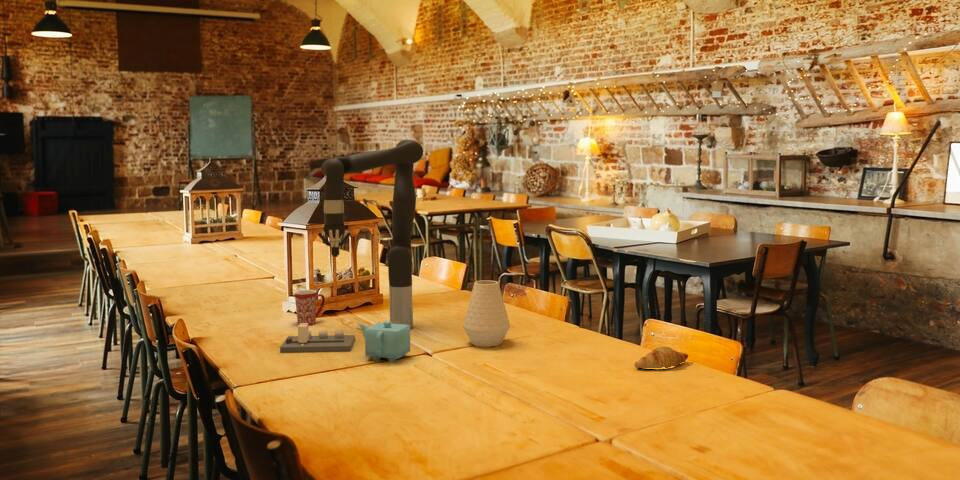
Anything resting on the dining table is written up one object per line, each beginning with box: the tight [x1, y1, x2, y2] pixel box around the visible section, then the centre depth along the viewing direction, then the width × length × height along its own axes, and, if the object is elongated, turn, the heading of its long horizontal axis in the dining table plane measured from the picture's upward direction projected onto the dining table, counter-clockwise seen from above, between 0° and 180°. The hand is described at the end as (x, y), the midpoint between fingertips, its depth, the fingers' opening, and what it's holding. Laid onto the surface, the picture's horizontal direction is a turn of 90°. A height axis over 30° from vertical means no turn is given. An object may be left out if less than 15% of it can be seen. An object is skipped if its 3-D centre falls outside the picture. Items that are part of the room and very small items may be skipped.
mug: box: [293, 289, 326, 326], centre depth 331 cm, size 13×9×14 cm
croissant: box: [634, 346, 689, 369], centre depth 266 cm, size 21×10×8 cm, turn 115°
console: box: [279, 329, 356, 354], centre depth 295 cm, size 25×16×4 cm, turn 93°
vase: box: [462, 279, 511, 348], centre depth 296 cm, size 18×17×23 cm
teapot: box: [356, 320, 411, 363], centre depth 279 cm, size 18×16×13 cm
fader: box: [297, 323, 310, 343], centre depth 293 cm, size 3×5×6 cm, turn 3°
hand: (335, 256), depth 307 cm, fingers closed
